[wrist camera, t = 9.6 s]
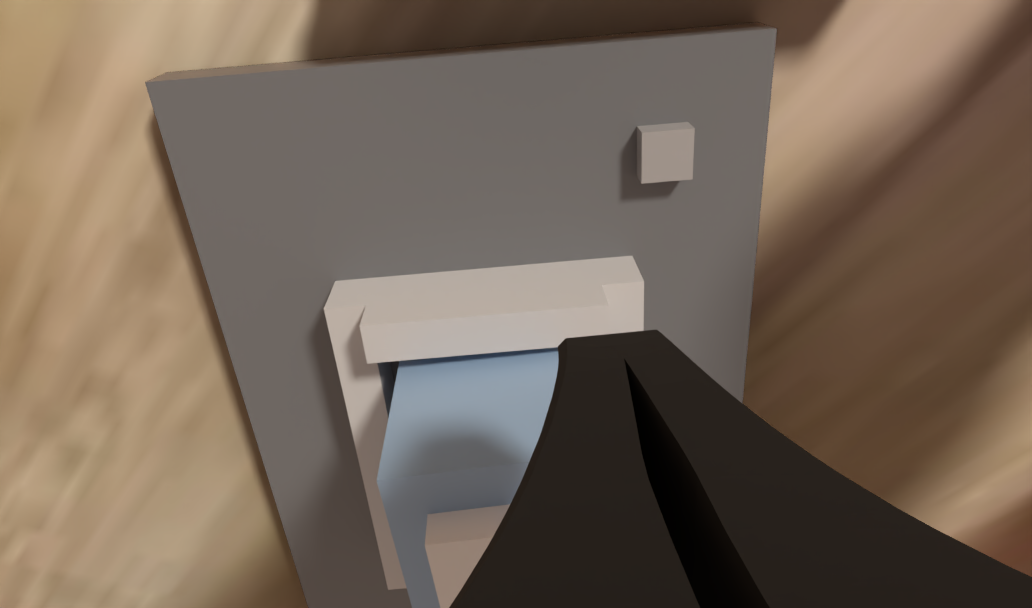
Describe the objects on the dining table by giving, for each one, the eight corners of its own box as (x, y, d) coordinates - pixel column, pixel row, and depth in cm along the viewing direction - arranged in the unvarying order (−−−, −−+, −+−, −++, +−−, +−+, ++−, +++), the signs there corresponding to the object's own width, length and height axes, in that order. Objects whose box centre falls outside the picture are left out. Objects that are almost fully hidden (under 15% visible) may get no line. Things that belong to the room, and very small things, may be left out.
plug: (556, 305, 19) (591, 484, 13) (574, 478, 22) (610, 692, 16) (406, 324, 19) (370, 511, 13) (444, 495, 22) (429, 713, 16)
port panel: (758, 22, 17) (825, 44, 14) (711, 601, 26) (744, 698, 23) (166, 72, 17) (89, 107, 13) (332, 634, 26) (310, 735, 23)
